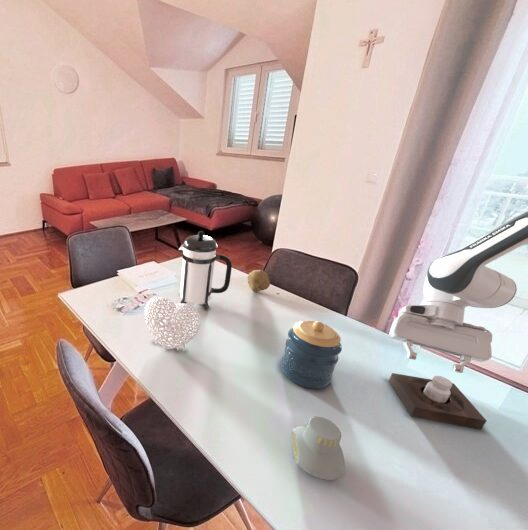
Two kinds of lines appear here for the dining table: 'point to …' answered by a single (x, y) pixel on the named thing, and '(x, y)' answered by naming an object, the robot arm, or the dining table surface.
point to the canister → (311, 354)
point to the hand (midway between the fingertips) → (433, 365)
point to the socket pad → (435, 403)
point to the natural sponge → (258, 280)
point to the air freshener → (318, 448)
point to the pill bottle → (438, 389)
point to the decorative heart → (171, 322)
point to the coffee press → (200, 269)
